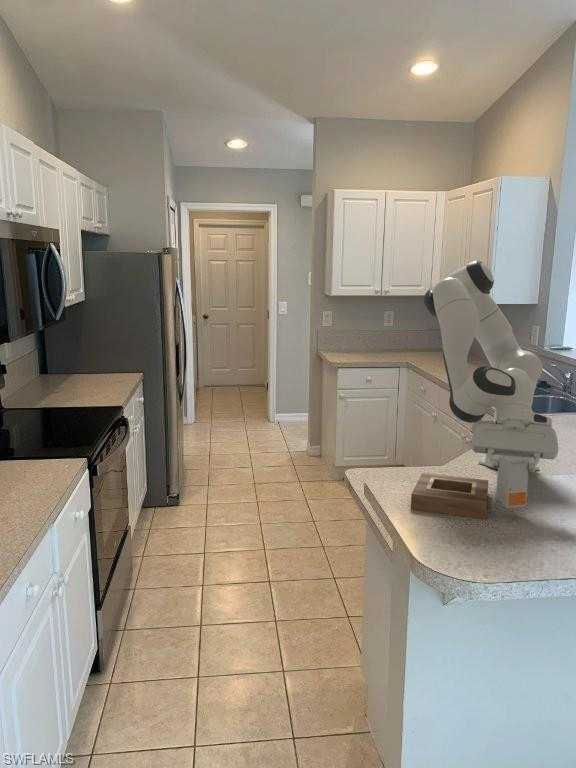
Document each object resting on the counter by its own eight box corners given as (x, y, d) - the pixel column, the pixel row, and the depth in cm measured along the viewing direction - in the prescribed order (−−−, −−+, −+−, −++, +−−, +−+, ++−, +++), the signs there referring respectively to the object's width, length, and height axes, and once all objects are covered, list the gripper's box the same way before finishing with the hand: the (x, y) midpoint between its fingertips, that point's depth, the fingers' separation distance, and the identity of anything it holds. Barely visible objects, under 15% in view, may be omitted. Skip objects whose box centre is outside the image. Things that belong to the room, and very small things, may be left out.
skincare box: (506, 508, 140) (508, 460, 139) (495, 503, 144) (497, 456, 143) (527, 506, 142) (529, 458, 140) (515, 501, 146) (518, 455, 145)
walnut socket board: (421, 486, 166) (422, 471, 165) (487, 494, 160) (488, 479, 159) (410, 509, 145) (411, 492, 145) (485, 519, 139) (487, 502, 139)
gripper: (472, 412, 150) (468, 457, 142) (558, 418, 144) (559, 466, 136) (472, 426, 155) (468, 471, 147) (555, 433, 148) (556, 479, 140)
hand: (513, 468), depth 141 cm, fingers closed on skincare box, 7 cm apart
